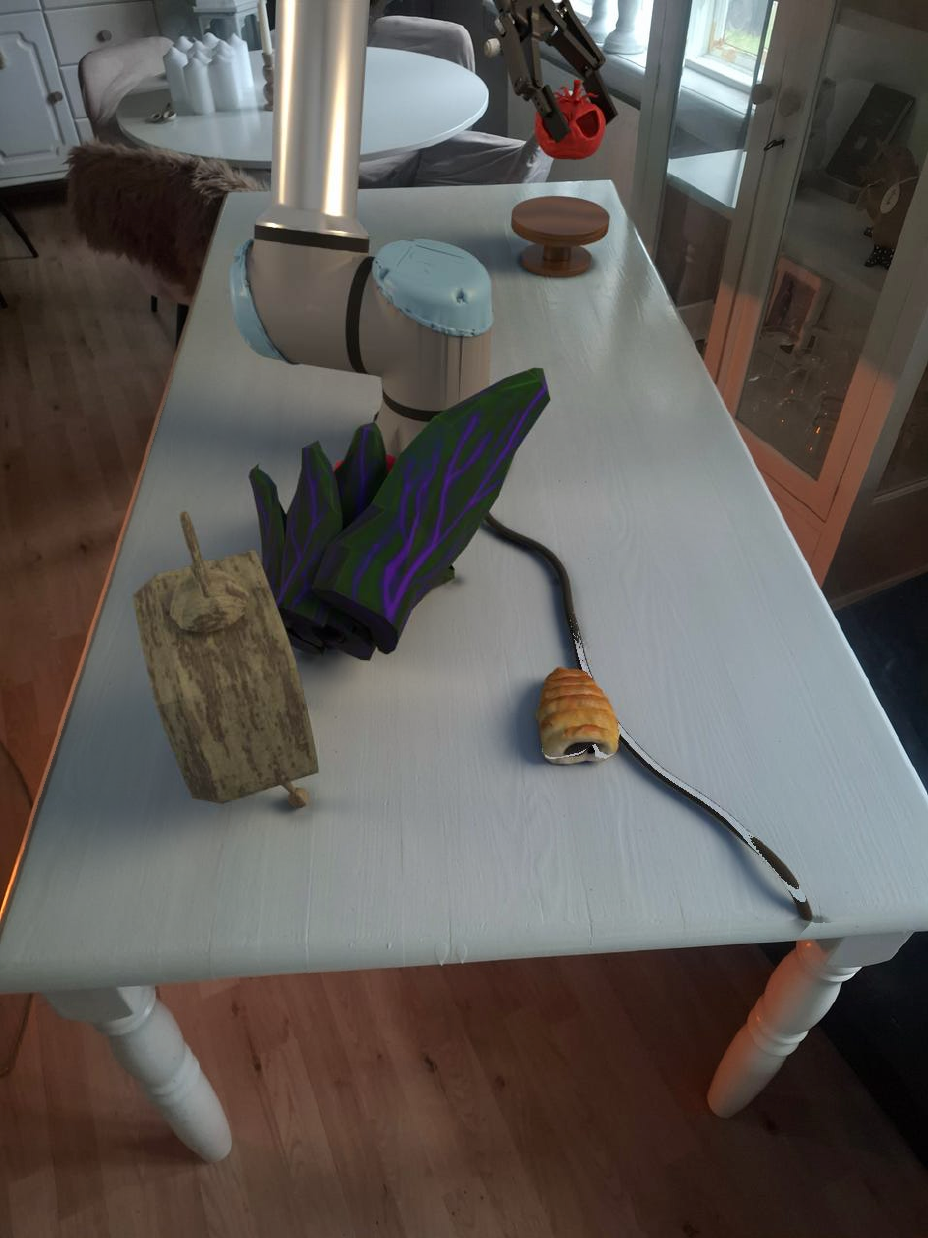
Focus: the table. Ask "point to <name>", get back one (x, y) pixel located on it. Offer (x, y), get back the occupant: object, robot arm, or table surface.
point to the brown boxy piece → (225, 677)
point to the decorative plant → (388, 519)
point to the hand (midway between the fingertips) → (587, 128)
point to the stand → (559, 233)
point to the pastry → (575, 718)
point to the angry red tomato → (573, 127)
